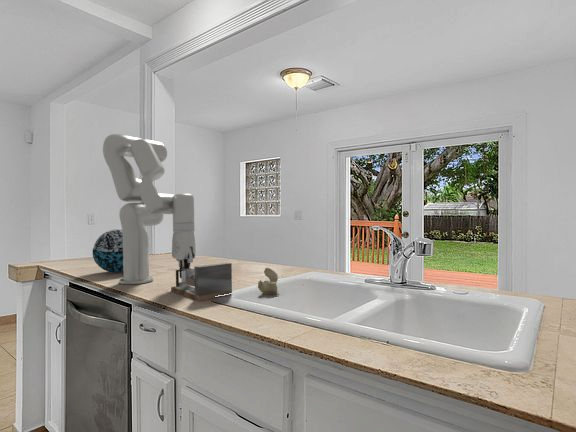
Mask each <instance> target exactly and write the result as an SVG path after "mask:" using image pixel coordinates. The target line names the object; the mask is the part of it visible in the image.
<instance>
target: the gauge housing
mask: <svg viewBox="0 0 576 432" xmlns="http://www.w3.org/2000/svg"><path fill="white" fill-rule="evenodd" d="M193 267H194V273H195V285H194V286H191V285H188V284H185V283H182V281H181V282H180V281H179V286H178V287H176V285H175V286H170V292H173V293H174V294H175V293H176V294H178V295H180V296H184V297H187V298H189V299H192V300H196V301H198V302H202V301H206V300H208V301H209V300H212V298H213V297H215V296H218V295H224V294H229V293H232V294H233V283H232V282H233V278H232V277H233V276H232V275H233V273H232V272H233V271H232V267H233V266H232V263H231V262H219V263H218V262H217V263H211V264H203V265H195V266H193ZM213 299H214V298H213Z"/></svg>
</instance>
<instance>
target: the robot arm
mask: <svg viewBox="0 0 576 432" xmlns="http://www.w3.org/2000/svg"><path fill="white" fill-rule="evenodd" d="M102 154H103V158H104V161H105V163H106V165H107V167H108V169H109V171H110V173H111V178H112V181H113V185H114V188H115V191H116V194H117V196H118V199H119V200H121V201H122V202H128V203H125V204H124V205H123V206H122V207H121V208H120V210H119V212H118V213H119V220H120V225H121V230H122V234H123V272H122V273H123V276H122V277H123V278H120V279H119V280H118V282H119V284H121V285H140V284H146V283H150V282H151V283H152V281H154V277H153V276H150V262H149V261H150V259H149V258H150V253H149V249H150V247H149V235H148V232H147V231H146V229H145V227H151V226H153V227H154V226H158V225H160V224H161V223H162V222H163V220H164V215H172V232H173V233H172V237H171V238H172V240H171V242H172V243H171V257H172V258H173V259H176V262H178V267H179V270H181V269H183V268H191V264H192V263H193V262H194V259H195V258H196V252H197V250H196V238H195V198H194V197H195V196H194V195H193V194H191V193H175V194H173V193H172V194H171V193H158V190H157V187H156V185H155V184H154V183H153V182H155V181H157V180H158V179H161V177H163V176H164V174H165V168H164V166H163V162H164V161H165V160H166V159H167V157H168V151H167V147H166V146H165V144H163V142H160V141H156V140H153V139H152V140H151V139H146V138H141V137H135V136H131V135H127V134H121V133H114V134H113V133H112V134H109V135H107V136H106V137H105V139H104V141H103V145H102ZM125 157H129V158H133V159H134V162H135V163H136V165H137V167H138V170H139V172H140V174H141V176H142V177H141V179H140V178H137V176H136V173H135V171H134V168H133V166H132V164H131V163H130V162H129V161H128V160H127V159H126V158H125ZM179 278H180V279H182V278H181V271H179Z"/></svg>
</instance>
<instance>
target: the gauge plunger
mask: <svg viewBox="0 0 576 432" xmlns="http://www.w3.org/2000/svg"><path fill="white" fill-rule="evenodd" d="M180 271H181V278H180ZM179 278H180V279H181V283H185V284H188V285H191V286H194V285H195V273H194V266H190V268H183V269H181V270H180V269H175V286H176V287H178V286H179V283H180V281H179V280H180V279H179Z"/></svg>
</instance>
